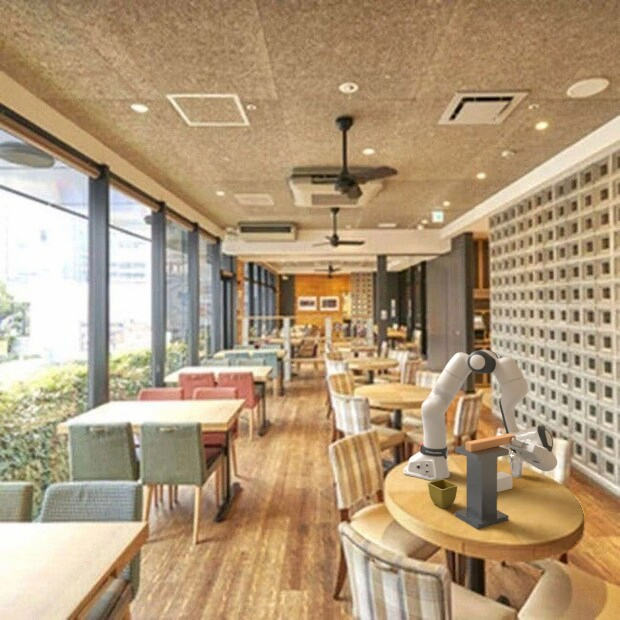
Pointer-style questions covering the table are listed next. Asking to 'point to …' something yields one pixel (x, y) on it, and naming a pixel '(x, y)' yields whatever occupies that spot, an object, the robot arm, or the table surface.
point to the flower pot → (442, 492)
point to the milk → (503, 481)
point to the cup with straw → (515, 464)
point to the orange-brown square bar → (488, 442)
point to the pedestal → (482, 487)
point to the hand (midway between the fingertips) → (506, 437)
